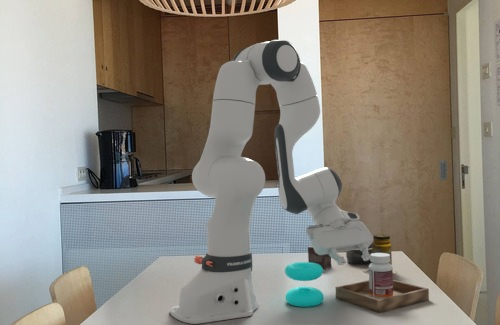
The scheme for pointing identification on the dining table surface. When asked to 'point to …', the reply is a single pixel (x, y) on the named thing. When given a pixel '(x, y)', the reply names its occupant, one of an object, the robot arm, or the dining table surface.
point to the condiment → (381, 246)
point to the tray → (401, 297)
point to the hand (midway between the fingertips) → (355, 261)
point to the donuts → (304, 294)
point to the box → (319, 258)
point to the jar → (358, 256)
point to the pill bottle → (380, 276)
